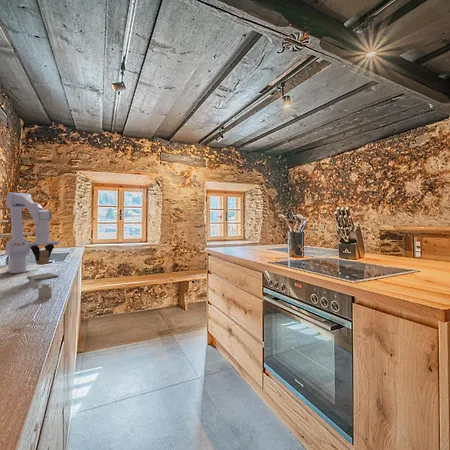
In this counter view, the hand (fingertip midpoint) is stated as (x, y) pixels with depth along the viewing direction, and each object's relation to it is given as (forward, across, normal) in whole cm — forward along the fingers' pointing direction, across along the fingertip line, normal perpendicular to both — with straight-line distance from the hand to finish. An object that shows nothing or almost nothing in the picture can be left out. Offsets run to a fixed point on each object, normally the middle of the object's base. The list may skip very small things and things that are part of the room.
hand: (42, 260), depth 133 cm
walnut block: (+2, 0, 0) cm, 2 cm away
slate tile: (+9, 0, 0) cm, 9 cm away
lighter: (+9, -15, -36) cm, 41 cm away
